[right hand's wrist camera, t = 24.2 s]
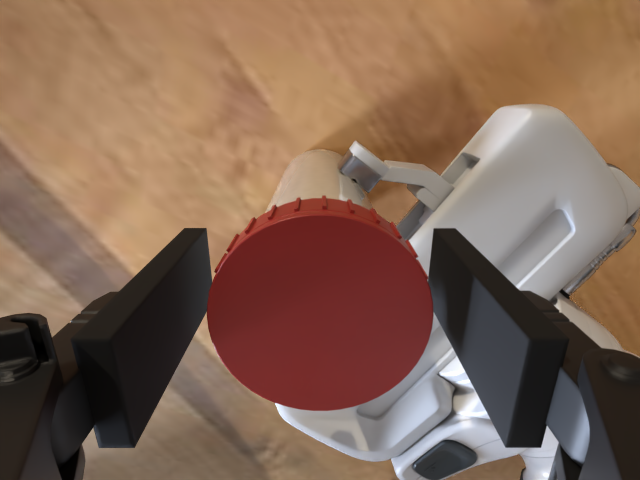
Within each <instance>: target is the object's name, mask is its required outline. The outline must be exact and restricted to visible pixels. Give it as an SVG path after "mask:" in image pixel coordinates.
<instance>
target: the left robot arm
mask: <svg viewBox="0 0 640 480" xmlns="http://www.w3.org/2000/svg"><path fill="white" fill-rule="evenodd" d="M337 166H338V169H339V171H341V172H342V173H343V174H344V175H345V176H347V177H349V178H350V179H355V180H356V183H357V184H358V185H359V186H360V187H361V188H362V189H364V190H365V191H366V192H368V193H369V192H370V191H371V190H372V188H373V187H374V186H375V185H376V184H377V182H378V181H379V180H380V179H381V180H384V181H391V182H398V183H406V184H407V188H408V189H409V190H410V191H411V192H412V194H413V195H414V196H415V197H416V198H418V199H419V200H418V202H417V203H416V204H415V205H414V206H413V207H412V209H411V210H410V211H409V212H408V213H407V214H406V216H405V217H404V218H403V219H402V220H401V221H400V222H399V224H398V225H397V226H396V227H397V229H398V231H399V232H400V234H401V236H402V237H403V239H404V240H405V241H406V240H407V239H408V240H409V242H410V244H411V245H412V247H413V248H414V250H415V252H416V253H417V255H418V257H417V258H416V260H418V261H419V262H420V264H421V266H422V267H423V269H424V271H425V272H426V274H427V276H429V266H430V257H431V248H432V238H433V229H434V228H456V229H457V230H458V231H459V232H460V233H461V234H462V235H463V236H464V237H465V238H466V239H467V240H468V241H469V242H470V243H471V244H472V245H473V246H474V247H475V248H476V249H477V250H478V251H479V252H481V253H482V254H483V255H484V256H485V257H486V258H487V259H488V260H489V261H490V262H491V263H492V264H493V265H494V266H495V267H496V268H497V269H498V270H499V271H500V272H501V273H502V274H503V275H504V276H505V277H506V278H507V279H508V280H509V281H510V282H511V283H513V284H514V285H515V286H516V287H517V288H518V289H519V290H520V291H532V292H533V293H535V294H537V295H539V296H541V297H543V298H545V299H547V300H548V301H549V302H551V303H552V304H553V305H554V306H555V307H556V308H557V309H558V310H559V312H560V313H563V314H564V315H565V316H566V317H567V318H568V319H570V320H569V321H570V322H573V323H574V324H575V325H576V326H577V327H579V328H580V329H581V330H582V331H583V332H584V333H585V334H586V335H588V336H589V337H590V338H591V339H592V340H593V341H594V342H595V343H597V344H598V345H599V346H600V347H601V348H606V349H615V350H619V351H622V352H626V353H629V354H632V355H634V356H637V355H636V354H633V353H631V352H629V351H627V350H624V349H623V348H622V347H621V345H620V344H619V342H618V341H617V339H616V338H615V337H614V336H613V335H612V334H611V333H610V332H609V331H608V330H607V329H606V328H605V327H604V326H603V325H601V324H600V323H599V322H598V321H596V320H595V319H594V318H593V317H591V316H590V315H589V314H588V313H586V312H585V311H584V310H583V309H581V308H580V307H579V306H578V305H576V304H575V303H574V302H573V301H571V300H570V298H569V296H570V295H571V294H572V293H574V292H575V291H576V290H577V289H578V288H579V287H580V286H581V285H582V284H584V283H585V282H586V281H587V280H588V279H589V278H590V277H591V276H592V275H593V274H594V273H595V272H596V270H598V268H599V266H601V265H602V264H603V261H606V260H607V259H608V258H607V257H610V256H611V255H612V254H613V253H614V252H615V251H616V252H618V251H619V250H620V249H622V248H623V247H624V246H625V245H626V244H627V243H628V242H629V241H630V240H631V239H632V238H633V236H634V235H635V233H636V229H635V228H634V227H633V226H634V224H635V223H636V221H637V220H638V218H639V216H640V188H639V187H638V186H637V185H636V184H635V183H634V182H633V181H632V180H631V179H630V178H629V177H628V176H627V175H626V174H625V173H624V172H623V171H622V170H621V169H619V168H618V167H616V166H614V165H612V164H609V163H606V162H605V161H604V159H603V158H602V156H601V155H600V154H599V152H598V151H597V150H596V148H595V147H594V146H593V145H592V143H591V142H590V141H589V140H588V139H587V137H586V136H585V135H584V134H583V133H582V132H581V130H580V129H579V128H578V127H577V126H576V125H575V124H574V123H573V122H572V120H571V119H570V118H569V117H567V116H566V115H565V114H564V113H563V112H562V111H561V110H559V109H557V108H555V107H552V106H548V105H543V104H519V105H510V106H504V107H501V108H499V109H498V110H496V111H495V112H494V113H493V114H492V116H491V117H490V118H489V119H488V120H487V121H486V123H485V124H484V125H483V126H482V127H481V128H480V130H479V131H478V132H477V133H476V134H475V135H474V137H473V138H472V139H471V140H470V141H469V142H468V144H467V145H466V146H465V147H464V148H463V149H462V150H461V152H460V153H459V154H458V155H457V156H456V157H455V159H454V160H453V161H452V162H451V163H450V164H449V166H448V167H447V168H446V169H445V170H444V171H443V173H442V174H441V175H440V176H439V175H438V174H437V173H436V172H434V171H433V170H431V169H430V168H428V167H426V166H425V165H423V164H416V163H407V162H399V161H390V160H385V161H384V162H383V161H382V160H380V159H379V158H378V157H377V156H375V155H374V154H373V153H371V152H370V151H369V150H368V149H366V148H365V147H364V146H363V145H361V144H360V143H358V142H357V141H356V140H355V142H354V143H353V144H352V146H351V147H350V148H349V149H348V151H347V152H346V153H345V155H344V156H343V158H342V159H341V160H340V162H339V163H338V164H337ZM427 281H428V279H427ZM433 314H434V312H433ZM637 357H639V356H637ZM639 358H640V357H639ZM275 405H276V407H277V409H278V412H279V414H280V416H281V417H282V418H283V419H284V420H285V421H286V422H288V423H289V424H291V425H292V426H294V427H295V428H297V429H299V430H300V431H302V432H304V433H305V434H307V435H309V436H311V437H313V438H314V439H316V440H318V441H320V442H322V443H324V444H326V445H328V446H330V447H332V448H334V449H336V450H338V451H340V452H342V453H345V454H347V455H349V456H352V457H354V458H357V459H361V460H365V461H372V462H379V461H385V460H389V459H391V461H392V464H393V467H394V470H395V473H396V475H397V477H398V478H399V479H400V480H444V479H446V478H448V477H450V476H453V475H455V474H457V473H460V472H462V471H465V470H467V469H470V468H472V467H475V466H478V465H481V464H484V463H487V462H491V461H495V460H499V459H503V458H508V457H511V456H515V455H517V454H519V455H521V457H522V458H523V460H524V462H525V465H526V468H524V469H523V470H522V472H521V476H520V480H548V478H549V475H550V471H551V468H552V464H553V461H554V457H555V454H556V450H557V446H558V443H559V442H558V441H557V439H556V438H555V436H554V435H553V433H552V432H551V430H550V429H549V428H548V426H547V427H546V431H545V435H544V439H543V443H542V446H541V448H505V446H504V444H503V442H502V440H501V438H500V436H499V435H498V433H497V431H496V429H495V427H494V425H493V423H492V421H491V419H490V418H489V416H488V414H487V412H486V410H485V408H484V406H483V404H482V402H481V401H480V399H479V397H478V395H477V393H476V391H475V389H474V387H473V385H472V384H471V382H470V380H469V378H468V376H467V374H466V372H465V370H464V368H463V367H462V365H461V363H460V361H459V359H458V357H457V355H456V353H455V351H454V350H453V348H452V346H451V344H450V342H449V340H448V338H447V336H446V334H445V332H444V331H443V329H442V327H441V325H440V323H439V321H438V319H437V317H436V315H435V314H434V316H433V325H432V330H431V334H430V338H429V341H428V344H427V346H426V348H425V351H424V353H423V355H422V356H421V358H420V360H419V361H418V363H417V364H416V366H415V367H414V368H413V369H412V371H411V372H410V373H409V374H408V375H407V376H406V377H405V378H404V379H403V380H402V381H401V382H400V383H399V384H397V385H396V386H395V387H394V388H392V389H391V390H390V391H388V392H386V393H385V394H383V395H381V396H379V397H378V398H375V399H373V400H371V401H369V402H367V403H364V404H361V405H357V406H354V407H350V408H345V409H341V410H331V411H309V410H300V409H295V408H290V407H286V406H283V405H280V404H277V403H275Z"/></svg>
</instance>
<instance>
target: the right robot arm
mask: <svg viewBox="0 0 640 480" xmlns="http://www.w3.org/2000/svg"><path fill="white" fill-rule="evenodd" d="M428 278H429V279H428V284H429V286H430V289H431V294H432V300H433V312H434V314H435V315H436V317H437V319H438V321H439V323H440V325H441V327H442V329H443V331H444V332H445V334H446V336H447V338H448V340H449V342H450V344H451V346H452V348H453V350H454V351H455V353H456V355H457V357H458V359H459V361H460V363H461V365H462V367H463V368H464V370H465V372H466V374H467V376H468V378H469V380H470V382H471V384H472V385H473V387H474V389H475V391H476V393H477V395H478V397H479V399H480V401H481V402H482V404H483V406H484V408H485V410H486V412H487V414H488V416H489V418H490V419H491V421H492V423H493V425H494V427H495V429H496V431H497V433H498V435H499V436H500V438H501V440H502V442H503V444H504V446H505V448H541V446H542V443H543V439H544V435H545V431H546V427H547V426H548V428H549V429H550V430H551V432H552V433H553V435H554V436H555V438H556V439H557V441H558V442H559V443H558V446H557V450H556V454H555V457H554V461H553V464H552V468H551V471H550V475H549V478H548V480H640V358H639V357H637V356H634V355H632V354H629V353H626V352H622V351H619V350H615V349H606V348H601V347H600V346H599V345H598V344H597V343H595V342H594V341H593V340H592V339H591V338H590V337H589V336H588V335H586V334H585V333H584V332H583V331H582V330H581V329H580V328H579V327H577V326H576V325H575V324H574V323H573V322H570V321H569V320H570V319H568V318H567V317H566V316H565V315H564V314H563V313H560V312H559V310H558V309H557V308H556V307H555V306H554V305H553V304H552V303H551V302H549V301H548V300H547V299H545V298H543V297H541V296H539V295H537V294H535V293H533V292H532V291H520V290H519V289H518V288H517V287H516V286H515V285H514V284H513V283H511V282H510V281H509V280H508V279H507V278H506V277H505V276H504V275H503V274H502V273H501V272H500V271H499V270H498V269H497V268H496V267H495V266H494V265H493V264H492V263H491V262H490V261H489V260H488V259H487V258H486V257H485V256H484V255H483V254H482V253H481V252H479V251H478V250H477V249H476V248H475V247H474V246H473V245H472V244H471V243H470V242H469V241H468V240H467V239H466V238H465V237H464V236H463V235H462V234H461V233H460V232H459V231H458V230H457V229H456V228H434V229H433V238H432V248H431V257H430V266H429V276H428ZM211 285H212V276H211V266H210V257H209V248H208V238H207V229H206V228H184V229H183V230H182V231H181V232H180V233H179V234H178V235H177V236H176V237H175V238H174V239H173V240H172V241H171V242H170V243H169V244H168V245H167V246H166V247H165V248H164V249H163V250H162V251H161V252H159V253H158V254H157V255H156V256H155V257H154V258H153V259H152V260H151V261H150V262H149V263H148V264H147V265H146V266H145V267H144V268H143V269H142V270H141V271H140V272H139V273H138V274H137V275H136V276H135V277H134V278H133V279H132V280H131V281H130V282H129V283H127V284H126V285H125V286H124V287H123V288H122V289H121V290H120V291H119V292H109V293H107V294H106V295H104V296H102V297H100V298H98V299H96V300H94V301H92V302H91V303H90V304H89V305H88V306H87V307H86V308H85V309H84V310H82V311H81V314H78V315H77V316H76V317H75V318H74V319H72V320H71V323H68V324H67V325H66V326H65V327H64V328H62V329H61V330H60V331H59V332H58V333H57V334H56V335H55V336H54V337H52V336H51V333H50V329H49V326H48V322H47V319H46V318H45V317H44V316H42V315H40V314H32V313H25V314H15V315H10V316H6V317H2V318H0V480H82V479H83V473H84V467H85V455H84V450H83V447H82V443H83V441H84V440H85V438H86V437H87V435H88V434H89V433H90V431H91V430H92V428H93V427H94V431H95V435H96V439H97V443H98V446H99V448H135V446H136V444H137V442H138V440H139V438H140V436H141V435H142V433H143V431H144V429H145V427H146V425H147V423H148V421H149V419H150V418H151V416H152V414H153V412H154V410H155V408H156V406H157V404H158V402H159V401H160V399H161V397H162V395H163V393H164V391H165V389H166V387H167V385H168V384H169V382H170V380H171V378H172V376H173V374H174V372H175V370H176V368H177V367H178V365H179V363H180V361H181V359H182V357H183V355H184V353H185V351H186V350H187V348H188V346H189V344H190V342H191V340H192V338H193V336H194V334H195V332H196V331H197V329H198V327H199V325H200V323H201V321H202V319H203V317H204V315H205V314H206V312H207V302H208V297H209V291H210V288H211Z"/></svg>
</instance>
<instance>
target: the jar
mask: <svg viewBox="0 0 640 480" xmlns="http://www.w3.org/2000/svg"><path fill="white" fill-rule="evenodd" d="M342 158H343V156H342V155H340V154H338V153H336V152H333V151H330V150H325V149H315V150H310V151H307V152H304V153H302V154H300V155H299V156H297V157H296V158H295V159H294V160H292V162H291V163H290V164H289V165H288V167H287V168H286V170H285V172H284V174H283V176H282V178H281V180H280V182H279V185H278V187H277V189H276V191H275V193H274V195H273V197H272V199H271V201H270V203H269V206H268V208H267V210H266V212H268V211H270V210H271V208H272V206H273V205H276V206H277V207H278V206H281V205H283V204H286V203H290V202H293V201H296V198H298V197H300V198H301V200H303V199H311V198H322V195H326V198H330V199H337V200H343V201H347V200H348V199H351V200H352V203H355V204H357V205H360V206H362V207H365V208H367V209H369V210H371V208H373V207H372V205H371V202H370V200H369V198H368V196H367V194H366V192H365V190H364V189H362V188H361V187H360V186H359V185H358V184H357V183H356V180H355V179H350V178H349V177H347V176H345V175H344V174H343V173H342V172H341V171H339V169H338V166H337V164H338V163H339V162H340V160H341V159H342ZM266 212H265V213H266Z"/></svg>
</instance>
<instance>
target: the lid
mask: <svg viewBox="0 0 640 480" xmlns="http://www.w3.org/2000/svg"><path fill="white" fill-rule="evenodd" d="M226 251H228V254H226V253H225V254H224V256H223V257H222V259H221V261H220V262H219V264H218V266H217V267H216V269H215V271H214V272H215V273H216V275H215V277H214V279H213V282H212V285H211V288H210V291H209V297H208V302H207V320H208V329H209V332H210V336H211V340H212V343H213V345H214V347H215V350H216V352H217V354H218V356H219V357H220V359H221V360H222V362H223V364H224V365H225V366H226V368H227V369H228V370H229V371H230V373H231V374H232V375H233V376H234V377H235V378H236V379H237V380H238V381H239V382H240V383H242V384H243V385H244V386H246V387H247V388H248V389H250V390H251V391H253V392H254V393H256V394H258V395H259V396H261V397H263V398H265V399H267V400H270V401H272V402H274V403H277V404H280V405H283V406H286V407H290V408H295V409H300V410H309V411H331V410H341V409H345V408H350V407H354V406H357V405H361V404H364V403H367V402H369V401H371V400H373V399H375V398H378V397H379V396H381V395H383V394H385V393H386V392H388V391H390V390H391V389H392V388H394V387H395V386H396V385H397V384H399V383H400V382H401V381H402V380H403V379H404V378H405V377H406V376H407V375H408V374H409V373H410V372H411V371H412V369H413V368H414V367H415V366H416V364H417V363H418V361H419V360H420V358H421V356H422V355H423V353H424V351H425V348H426V346H427V344H428V341H429V338H430V334H431V330H432V325H433V316H434V314H433V300H432V294H431V289H430V286H429V284H428V281H427V279H429V278H428V276H427V274H426V272H425V271H424V269H423V267H422V266H421V264H420V262H419V261H418V260H416V258H417V257H418V255H417V253H416V252H415V250H414V248H413V247H412V245H411V244H410V242H409V240H408V239H407V240H406V241H405V240H404V239H403V237H402V236H401V234H400V232H399V231H398V229H397V227H396V226H395V224H394V223H393V222H391V223H389V222H387V221H386V220H385V219H383V218H382V217H381V216H380V215H378V214H377V213H376V211H375V209H373V208H371V210H369V209H367V208H365V207H362V206H360V205H357V204H355V203H352V200H351V199H348V200H347V201H343V200H337V199H330V198H326V195H322V198H311V199H303V200H301V198H300V197H298V198H296V201H293V202H290V203H286V204H283V205H281V206H278V207H277V206H276V205H273V206H272V208H271V210H270V211H268V212H266V213H264V214H263V215H261V216H260V217H258V218H257V219H255V217H254V218H252V219H251V221H250V223H249V224H248V226H247V228H246V229H245V230H244V231H243V232H242V233H241V234H240V235H238V234H236V236H235V237H234V239H233V240H232V242H231V244H230V245H229V247H228V248H227V250H226Z"/></svg>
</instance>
